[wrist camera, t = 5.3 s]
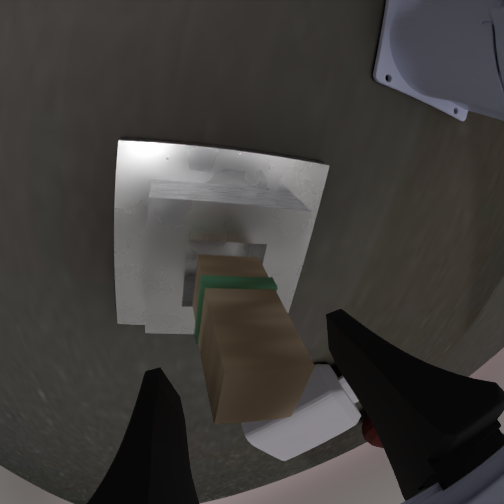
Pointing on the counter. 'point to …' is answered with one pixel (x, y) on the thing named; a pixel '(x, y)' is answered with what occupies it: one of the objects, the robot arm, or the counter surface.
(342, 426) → the charger
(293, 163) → the stand
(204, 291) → the post
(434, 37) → the robot arm
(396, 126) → the counter surface
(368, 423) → the potato
